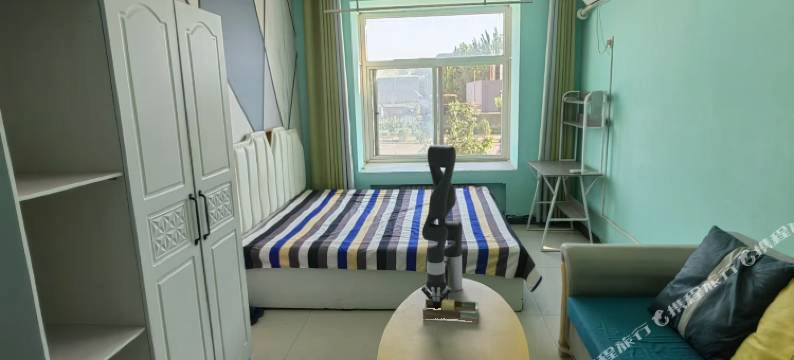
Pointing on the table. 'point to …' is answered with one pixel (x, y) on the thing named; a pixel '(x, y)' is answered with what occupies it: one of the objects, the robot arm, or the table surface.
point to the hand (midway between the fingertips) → (436, 308)
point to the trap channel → (461, 311)
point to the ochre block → (447, 305)
